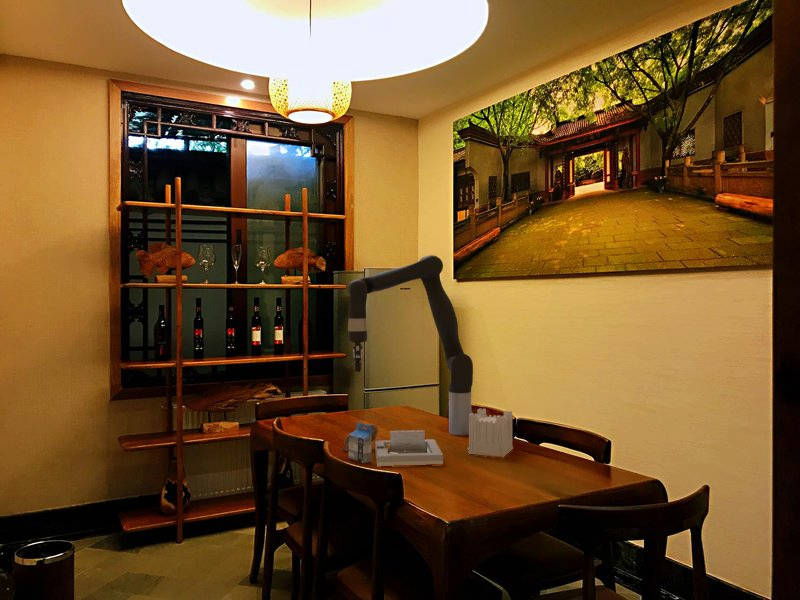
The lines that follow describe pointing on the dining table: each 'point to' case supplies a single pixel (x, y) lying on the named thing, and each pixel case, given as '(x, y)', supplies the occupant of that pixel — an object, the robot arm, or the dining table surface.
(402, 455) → the housing
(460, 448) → the dining table surface
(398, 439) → the dial
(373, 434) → the lion figurine
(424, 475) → the dining table surface
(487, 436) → the castle model
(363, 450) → the label tape box
